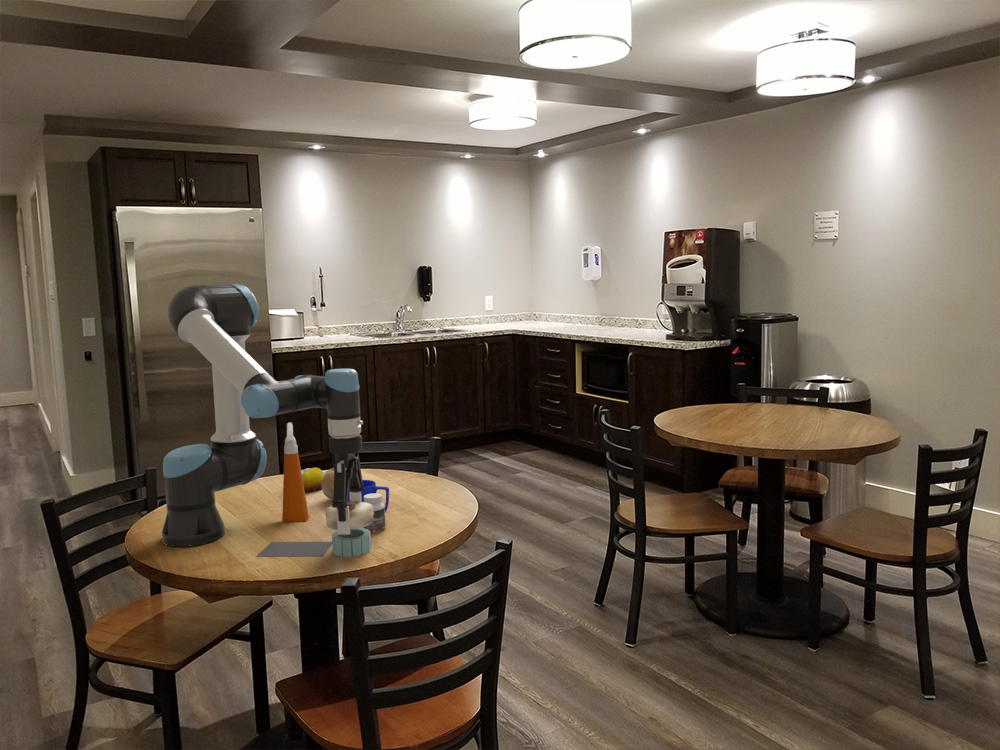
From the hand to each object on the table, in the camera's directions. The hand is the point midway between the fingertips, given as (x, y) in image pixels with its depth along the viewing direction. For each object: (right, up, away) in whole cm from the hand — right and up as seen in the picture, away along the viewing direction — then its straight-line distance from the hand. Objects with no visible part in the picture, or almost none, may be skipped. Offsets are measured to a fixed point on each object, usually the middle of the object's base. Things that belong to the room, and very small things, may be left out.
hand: (350, 525), depth 186 cm
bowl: (0, -7, +1) cm, 7 cm away
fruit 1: (-25, 0, +60) cm, 65 cm away
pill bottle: (+3, -5, +16) cm, 17 cm away
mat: (-14, -7, +3) cm, 16 cm away
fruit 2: (-12, -1, +46) cm, 48 cm away
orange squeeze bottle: (-21, -4, +30) cm, 37 cm away
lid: (0, +1, 0) cm, 1 cm away
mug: (0, -4, +27) cm, 27 cm away
